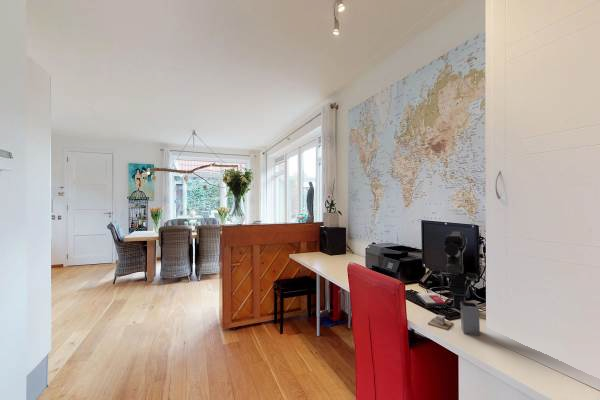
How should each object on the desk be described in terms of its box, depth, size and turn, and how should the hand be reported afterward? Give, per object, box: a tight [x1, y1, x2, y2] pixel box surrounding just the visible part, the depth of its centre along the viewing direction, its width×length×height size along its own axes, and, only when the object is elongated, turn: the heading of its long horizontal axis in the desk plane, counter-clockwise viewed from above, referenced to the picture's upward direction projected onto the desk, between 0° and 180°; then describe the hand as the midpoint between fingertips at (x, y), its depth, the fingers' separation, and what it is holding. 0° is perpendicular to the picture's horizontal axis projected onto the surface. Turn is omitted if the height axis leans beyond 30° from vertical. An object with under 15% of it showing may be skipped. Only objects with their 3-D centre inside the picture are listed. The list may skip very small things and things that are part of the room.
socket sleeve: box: [460, 301, 481, 337], centre depth 116 cm, size 6×6×12 cm
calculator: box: [415, 292, 448, 307], centre depth 150 cm, size 11×4×15 cm
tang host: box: [427, 314, 454, 331], centre depth 124 cm, size 8×8×4 cm
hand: (453, 293), depth 124 cm, fingers open, 9 cm apart
